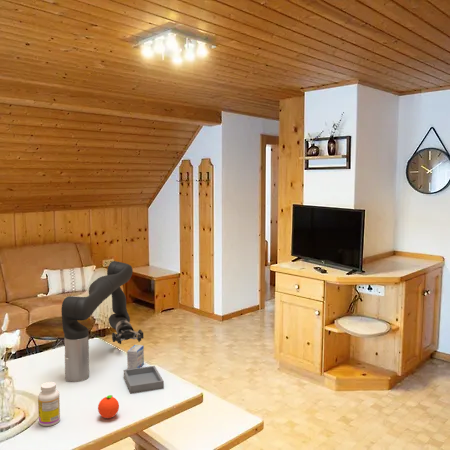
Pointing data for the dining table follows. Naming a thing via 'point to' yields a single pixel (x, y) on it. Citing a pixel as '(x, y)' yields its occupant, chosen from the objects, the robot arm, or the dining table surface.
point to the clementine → (108, 407)
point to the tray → (143, 379)
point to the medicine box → (135, 357)
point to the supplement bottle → (48, 404)
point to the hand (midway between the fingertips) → (130, 340)
